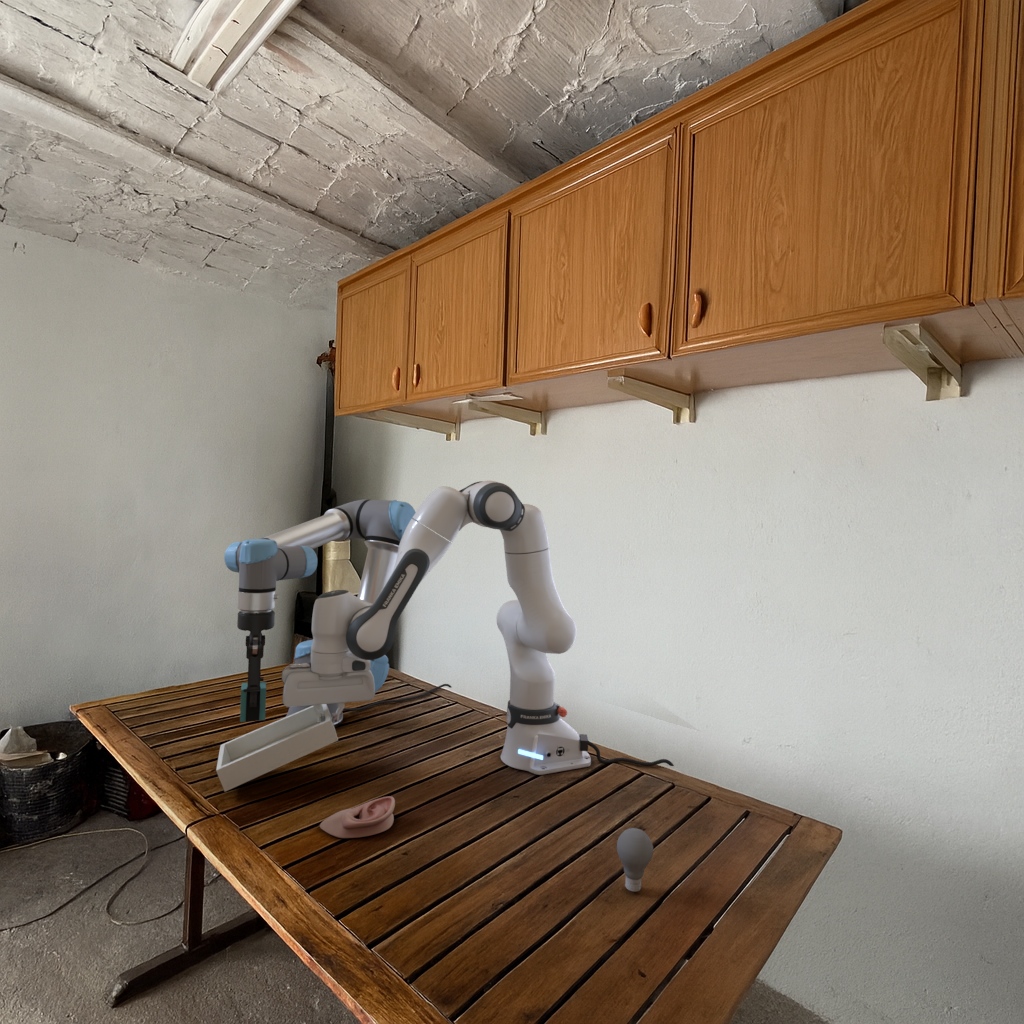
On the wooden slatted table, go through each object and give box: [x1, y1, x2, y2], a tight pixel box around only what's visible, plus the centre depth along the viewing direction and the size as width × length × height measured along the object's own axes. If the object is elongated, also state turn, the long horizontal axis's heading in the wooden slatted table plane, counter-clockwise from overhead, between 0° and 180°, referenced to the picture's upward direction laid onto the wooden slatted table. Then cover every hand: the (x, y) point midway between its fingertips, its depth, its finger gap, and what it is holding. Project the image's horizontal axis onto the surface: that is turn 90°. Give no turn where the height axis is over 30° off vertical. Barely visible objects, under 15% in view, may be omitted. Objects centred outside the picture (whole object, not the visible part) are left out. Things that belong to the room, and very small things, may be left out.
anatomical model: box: [319, 795, 396, 839], centre depth 123 cm, size 13×4×12 cm
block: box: [239, 681, 267, 723], centre depth 138 cm, size 5×5×7 cm
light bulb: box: [616, 827, 654, 893], centre depth 106 cm, size 6×6×10 cm
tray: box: [215, 704, 339, 792], centre depth 141 cm, size 24×14×5 cm, turn 111°
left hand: (252, 716), depth 138 cm, fingers closed on block, 5 cm apart
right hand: (328, 721), depth 144 cm, fingers closed on tray
